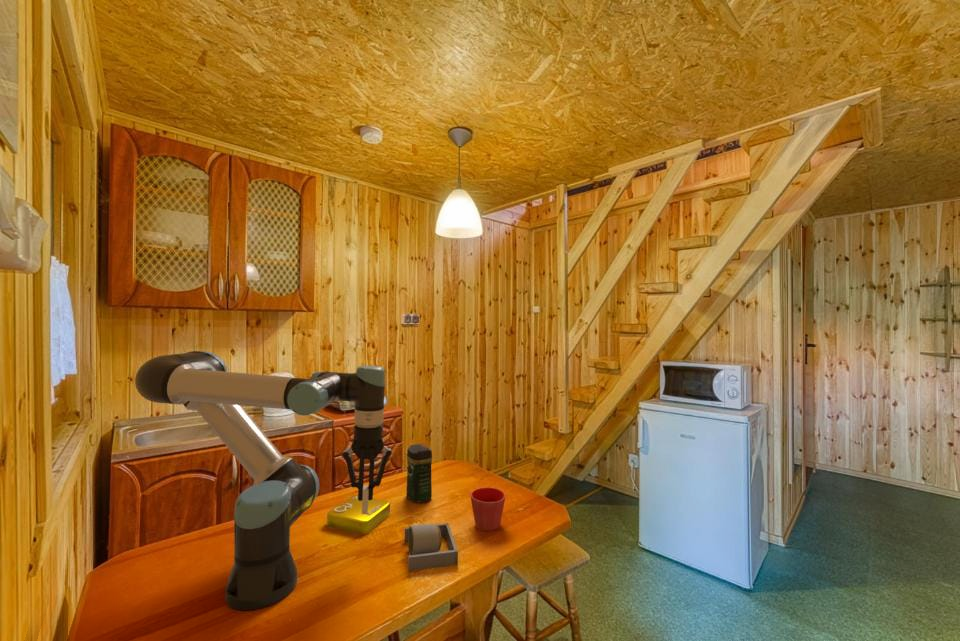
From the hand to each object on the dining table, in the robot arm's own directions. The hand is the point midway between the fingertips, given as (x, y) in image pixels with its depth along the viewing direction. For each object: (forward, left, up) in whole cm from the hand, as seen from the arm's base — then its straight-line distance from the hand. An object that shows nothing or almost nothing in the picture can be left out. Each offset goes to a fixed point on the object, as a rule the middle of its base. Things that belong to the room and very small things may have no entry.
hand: (364, 511), depth 111 cm
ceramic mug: (+15, 0, -13) cm, 20 cm away
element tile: (-2, +22, -13) cm, 26 cm away
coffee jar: (+18, +34, -13) cm, 40 cm away
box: (+17, -1, -12) cm, 21 cm away
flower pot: (+37, +9, -13) cm, 40 cm away
